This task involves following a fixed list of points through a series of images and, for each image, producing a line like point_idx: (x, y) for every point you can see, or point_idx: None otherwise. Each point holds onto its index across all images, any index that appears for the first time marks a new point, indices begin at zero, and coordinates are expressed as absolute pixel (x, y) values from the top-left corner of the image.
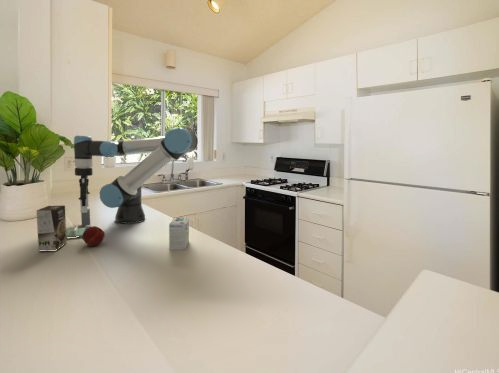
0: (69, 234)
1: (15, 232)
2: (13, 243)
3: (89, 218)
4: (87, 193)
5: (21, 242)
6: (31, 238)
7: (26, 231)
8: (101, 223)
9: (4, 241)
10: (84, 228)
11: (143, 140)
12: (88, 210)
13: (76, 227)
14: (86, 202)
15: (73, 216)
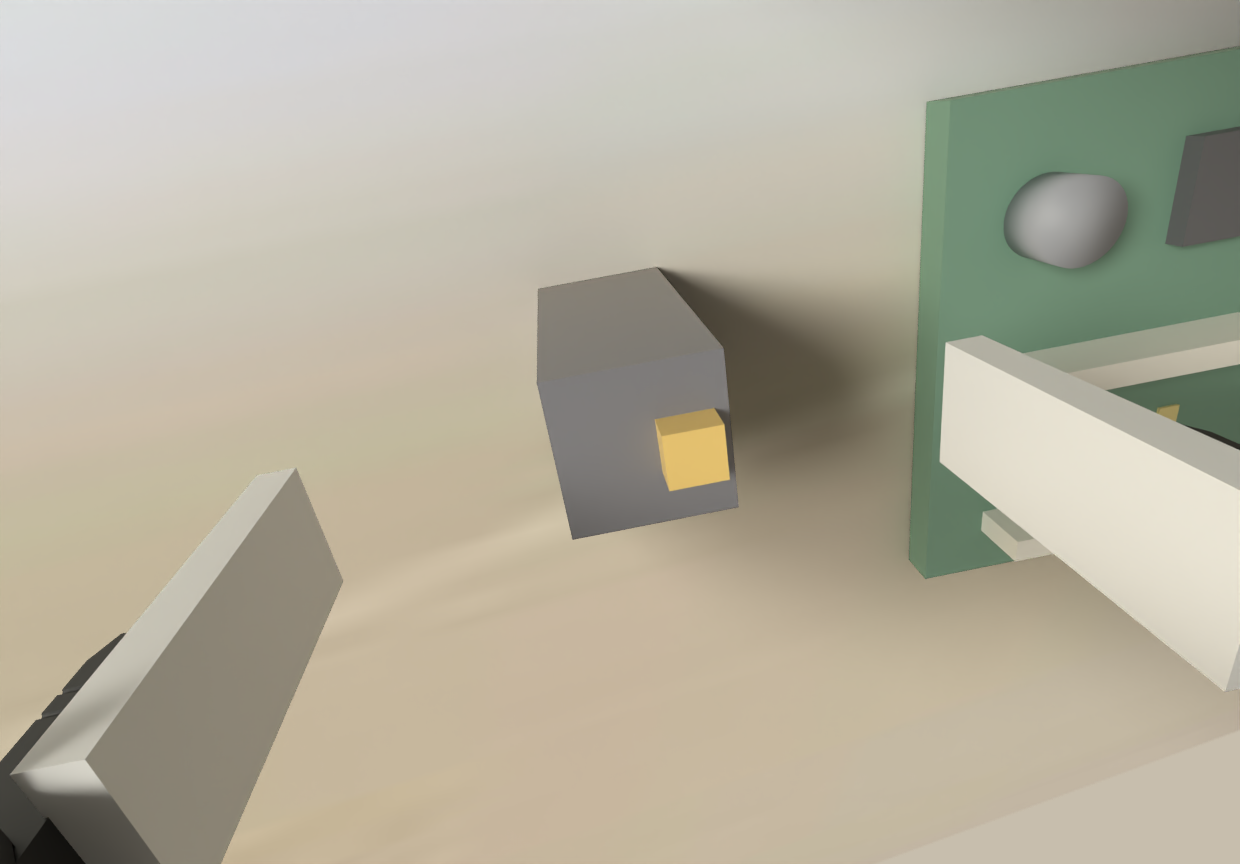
0: (1195, 393)
1: (766, 855)
2: (1111, 741)
3: (679, 301)
4: (2, 840)
5: (1113, 706)
6: (1024, 687)
7: (758, 804)
8: (542, 92)
9: (1020, 810)
10: (980, 282)
11: None
12: (723, 366)
13: (1147, 366)
14: (1204, 451)
15: (31, 646)
